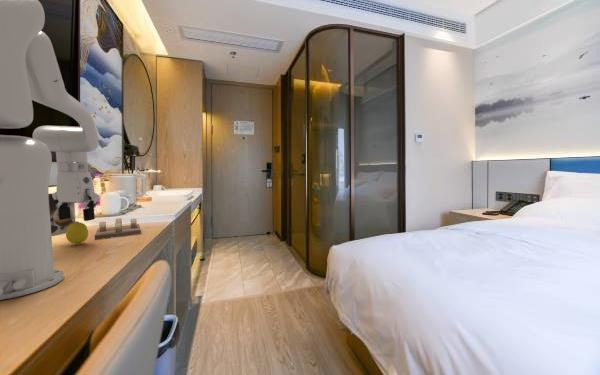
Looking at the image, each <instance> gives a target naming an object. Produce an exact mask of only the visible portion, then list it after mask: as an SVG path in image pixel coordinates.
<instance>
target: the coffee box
mask: <svg viewBox="0 0 600 375" xmlns="http://www.w3.org/2000/svg"><path fill="white" fill-rule="evenodd" d="M53 193H54V192H53ZM53 193H48V194H49V211H50V224H51V237H52V236H56V235H57V236H58V235H62V234H66V231H67V228H68V227H69V226H70V225H71V224H73V223H75V222H76V221H77V220H76V210H75V208H76V206H75V204H76V203H70V204H69V205H68V206H67V207H70V214H71V218H69V219H63V220H59V212H58V208H57V207H56V205H57V204H56V203H55V202H54V199H53V197H52V194H53Z"/></svg>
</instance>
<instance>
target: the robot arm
mask: <svg viewBox="0 0 600 375" xmlns="http://www.w3.org/2000/svg"><path fill="white" fill-rule="evenodd" d="M45 14H46V13H45V11H44V7H43V5H42V3H41V2H40V1H39V0H0V129H21V128H27V127H29V126H30V125H31V124H32V123H33V120H34V106H33V101H34V102H36V103H38V104H41V105H43V106H46V107H48V108H51V109H54V110H57V111H59V112H61V113H63V114H65V115H67V116H69V117H71V118H72V119H74V120H75V121H76V122H77V123H78V124H79V126H69V125H41V126H38V127H36V128H35V129H34V130H33V132H32V137H28V136H23V135H22V136H21V135H8V134H7V135H5V134H0V301H1V300H8V299H13V298H18V297H22V296H26V295H30V294H33V293H37V292H39V291H42V290H45V289H48V288H51V287H52V286H54V285H57V284H58V283H60V282H61V281H63V279H64V278H65V273H64V271H63V270H58V269H55V265H54V253H53V252H54V251H53V242H52V241H53V240H52V236H51V224H50V211H49V194H50V193H49V190H50V189H49V184H50V176H51V168H52V161H53V160H52V159H53V158H52V156H53V155H52V152H54V153H55V156H56V158H55V159H56V169H57V171H56V172H57V176H56V191H55V192H53V194H52V193H51V194H52V197H53V199H54V202H55V203H56V204H57V205H56V207H57V208H58V212H59V220H63V219H69V218H71V214H70V207H67V206H68V205H69V204H70V203H74V204H81V205H82V207H83V208H82V213H83V215H82V216H83V221H84V222H88V221H93V220H95V218H96V216H95V208H96V205H97V204H98V203H99V202H98V201H99V197H100V194H97V193H96V192H95V187H94V186H95V185H94V180H93V178H92V174H91V172H89V164H88V153H90V152H94V151H96V150H97V148H98V147H99V143H100V142H99V136H98V131H97V127H96V123H95V121H94V118H93V116H92V115H91V113H90V111H89V110H88V108H86V107H85V106H84V105H83V104H82V103H81V102H80V101H79V100H77V99H76V98H75V97H74V96H72V95H71V94H69V93H68V92H67V89H66V88H65V83H64V80H63V78H62V77H63V76H62V73H61V70H60V66H59V63H58V60H57V56H56V53H55V50H54V47H53V44H52V41H51V39H50V37H49V36H48V35H47V34H46V33H45V32H44V31H42V30H43V29H44V26H45V21H46V16H45Z"/></svg>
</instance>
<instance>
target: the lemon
mask: <svg viewBox="0 0 600 375" xmlns="http://www.w3.org/2000/svg"><path fill="white" fill-rule="evenodd" d="M75 221H76V222H75V223H73V224H71V225H70V226H69V227H68V228H67V231H66V233H65V237H66V239H67V241H68V242H69V243H71V244H74V245H75V246H79V245H81V244H82V243H83V242H85V241H86V240H87V239H88V236H89V229H88V227H87V225H86V224H85V223H82V222H79V221H77V220H75Z"/></svg>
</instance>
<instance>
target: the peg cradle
mask: <svg viewBox="0 0 600 375" xmlns="http://www.w3.org/2000/svg"><path fill="white" fill-rule="evenodd" d="M122 220H123V219H122V218H115V223H114V226H111V227H107V222H106V221H100V222H98V226H99V228H97V230H96V233H95V234H94V240H95V241H96V240H97V239H98V240H104V239H103V238H106V239H111V237H113V238H120V237H121V238H122V237H127V236H134V235H136V236H137V235H142V230H141V227H140V224H139V223H137V218H131V219H130V224H129V225H123V222H122Z"/></svg>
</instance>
